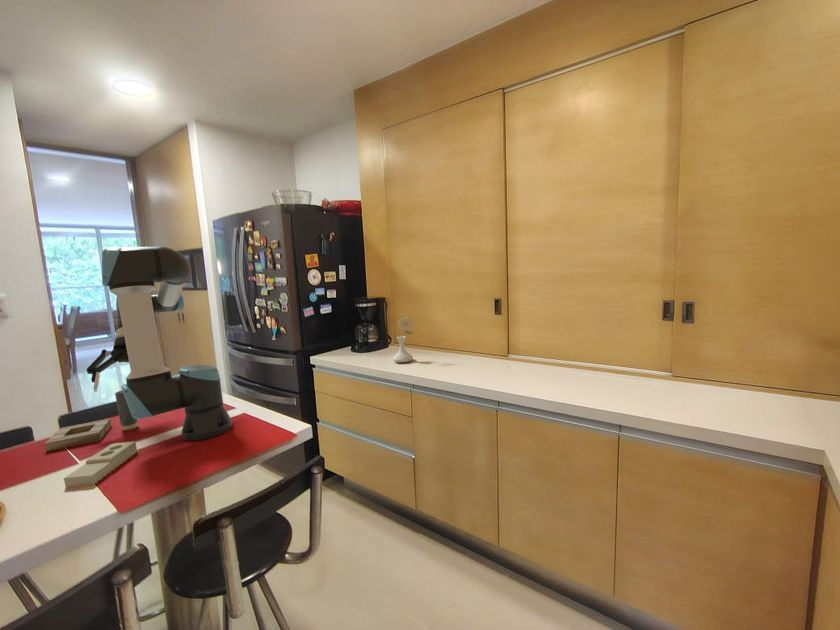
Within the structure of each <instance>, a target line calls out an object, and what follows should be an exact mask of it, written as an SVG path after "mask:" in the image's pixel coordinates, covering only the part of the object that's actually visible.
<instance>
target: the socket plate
mask: <svg viewBox="0 0 840 630" xmlns="http://www.w3.org/2000/svg"><path fill="white" fill-rule="evenodd" d="M111 427H112V421H111V418H105V419H101V420H94V421H91V422H85V423H80V424H73V425H70V426H69V425H68V426H64V427H61V428H60V429H58V430H57V431H56V432H55V433H54V434H53V435H52V436H51V437H50V438H49V439H48V440H47V441H45V442H44V446H45V452H46V451H49V452H52V451H51V450H54V451H57V450H56V449H58V450H61V449H62V448H63V449H66V448H65V447H68V448H71V447H70V446H72V447H76V445H77V446H81V444H82V445H86V443H87V444H90V443H96V442H100V441H102V439H103V438H104V437H105V436H106V434H107V433H108V432H109V430H110V429H111Z"/></svg>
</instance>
